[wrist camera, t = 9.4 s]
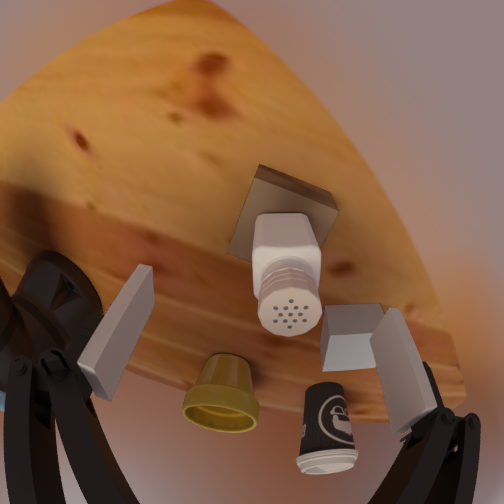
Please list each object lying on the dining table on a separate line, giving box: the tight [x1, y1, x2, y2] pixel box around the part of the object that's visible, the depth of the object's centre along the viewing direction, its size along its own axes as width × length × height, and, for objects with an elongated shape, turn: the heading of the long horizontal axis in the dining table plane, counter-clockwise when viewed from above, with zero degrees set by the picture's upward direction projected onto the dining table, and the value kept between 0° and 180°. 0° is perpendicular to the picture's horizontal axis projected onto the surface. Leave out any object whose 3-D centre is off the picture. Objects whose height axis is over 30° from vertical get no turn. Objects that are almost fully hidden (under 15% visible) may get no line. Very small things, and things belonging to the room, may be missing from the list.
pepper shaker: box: [252, 213, 323, 337], centre depth 17 cm, size 4×4×10 cm
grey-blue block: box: [320, 303, 384, 372], centre depth 30 cm, size 7×7×5 cm
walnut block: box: [227, 164, 340, 262], centre depth 24 cm, size 7×7×5 cm
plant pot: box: [182, 354, 259, 433], centre depth 35 cm, size 10×10×10 cm
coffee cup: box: [296, 382, 359, 474], centre depth 35 cm, size 10×10×15 cm
